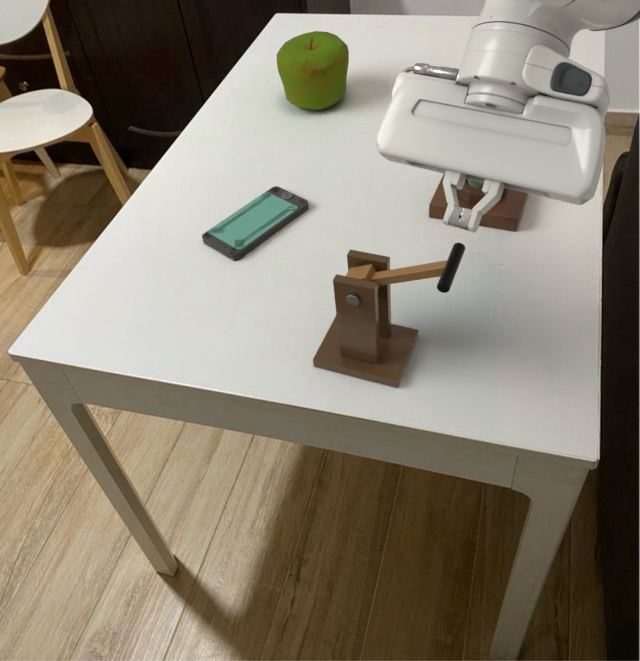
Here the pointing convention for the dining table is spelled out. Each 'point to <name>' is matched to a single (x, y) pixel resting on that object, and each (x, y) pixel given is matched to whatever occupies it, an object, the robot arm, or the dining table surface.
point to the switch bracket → (365, 328)
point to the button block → (498, 216)
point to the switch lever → (414, 271)
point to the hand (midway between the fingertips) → (459, 228)
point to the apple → (313, 69)
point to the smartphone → (255, 222)
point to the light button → (475, 184)
